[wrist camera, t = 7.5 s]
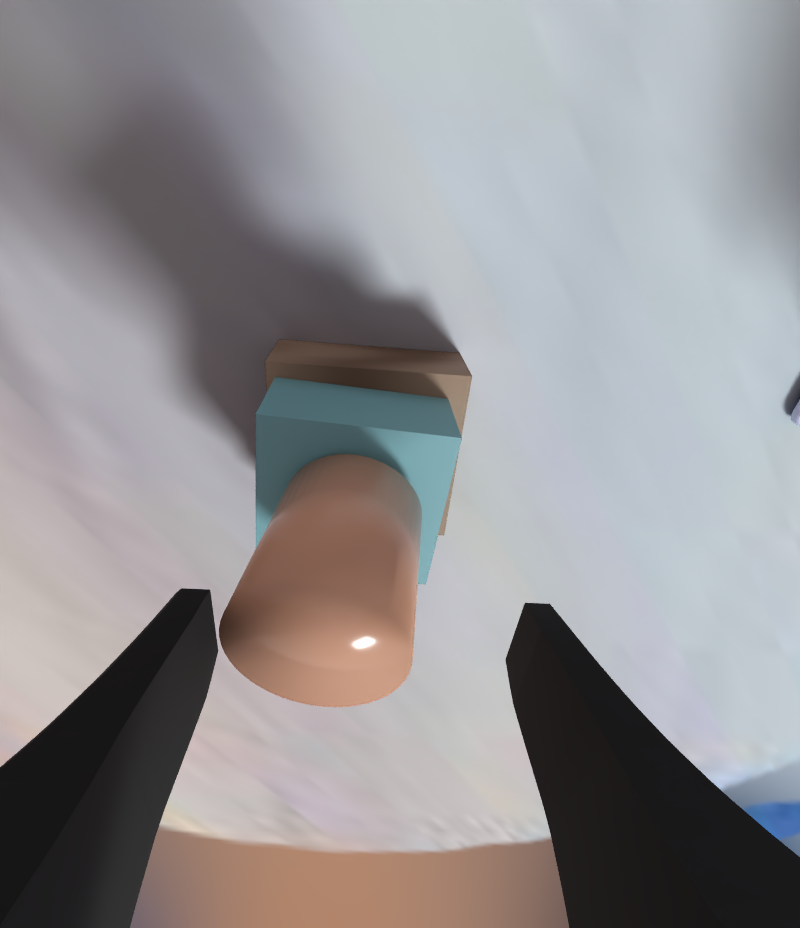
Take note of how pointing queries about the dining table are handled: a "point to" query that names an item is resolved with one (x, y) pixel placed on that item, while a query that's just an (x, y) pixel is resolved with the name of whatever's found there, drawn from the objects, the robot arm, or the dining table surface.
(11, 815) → the robot arm
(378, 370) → the walnut base slab
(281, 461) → the teal top slab
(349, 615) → the terracotta cylinder
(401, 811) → the dining table surface
